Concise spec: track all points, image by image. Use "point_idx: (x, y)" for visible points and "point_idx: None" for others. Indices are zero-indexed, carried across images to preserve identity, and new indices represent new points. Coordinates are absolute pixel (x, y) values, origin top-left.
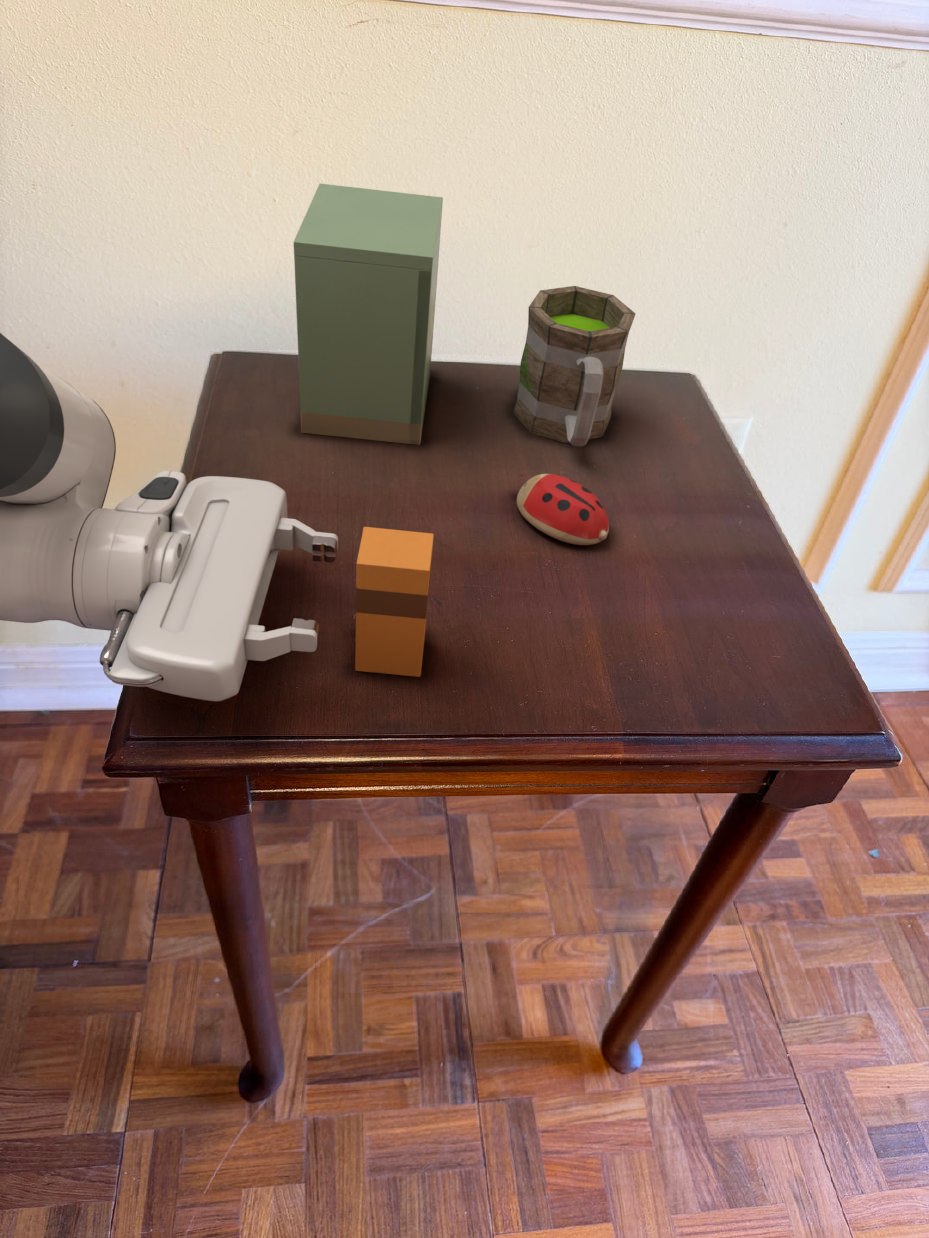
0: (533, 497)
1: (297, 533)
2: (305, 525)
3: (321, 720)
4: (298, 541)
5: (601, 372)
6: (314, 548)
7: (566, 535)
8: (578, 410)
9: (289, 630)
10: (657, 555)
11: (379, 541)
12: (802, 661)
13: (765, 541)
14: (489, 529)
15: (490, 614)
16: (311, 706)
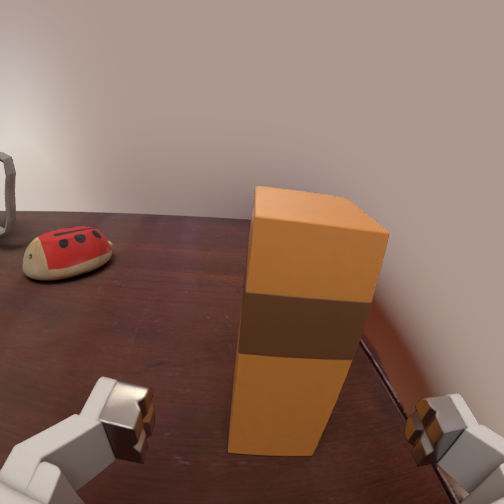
0: (52, 253)
1: (60, 464)
2: (48, 429)
3: (412, 475)
4: (72, 478)
5: (10, 156)
6: (138, 434)
7: (100, 257)
8: (5, 196)
9: (476, 426)
10: (130, 241)
11: (302, 210)
12: (235, 225)
13: (133, 215)
14: (52, 305)
15: (186, 326)
16: (395, 493)
